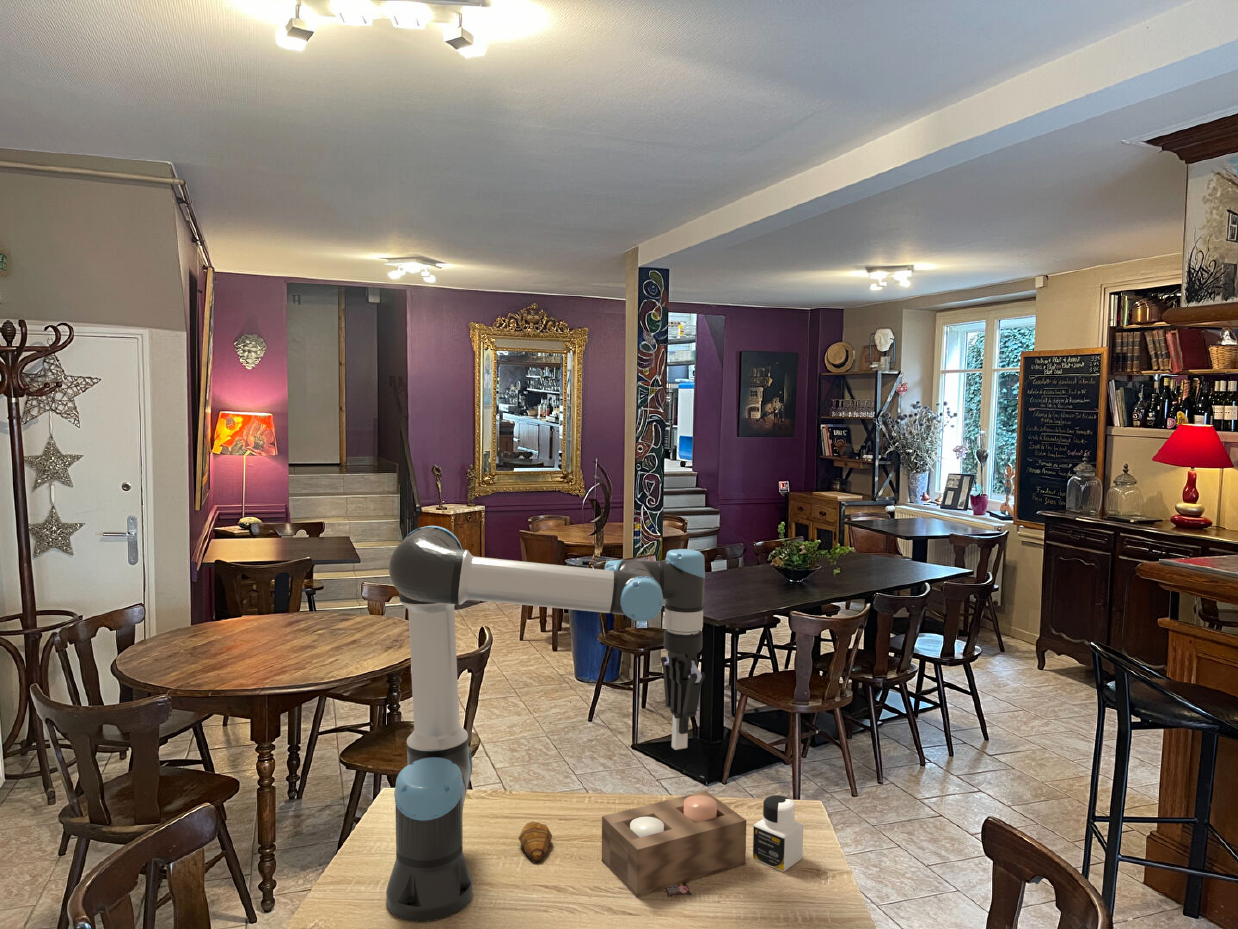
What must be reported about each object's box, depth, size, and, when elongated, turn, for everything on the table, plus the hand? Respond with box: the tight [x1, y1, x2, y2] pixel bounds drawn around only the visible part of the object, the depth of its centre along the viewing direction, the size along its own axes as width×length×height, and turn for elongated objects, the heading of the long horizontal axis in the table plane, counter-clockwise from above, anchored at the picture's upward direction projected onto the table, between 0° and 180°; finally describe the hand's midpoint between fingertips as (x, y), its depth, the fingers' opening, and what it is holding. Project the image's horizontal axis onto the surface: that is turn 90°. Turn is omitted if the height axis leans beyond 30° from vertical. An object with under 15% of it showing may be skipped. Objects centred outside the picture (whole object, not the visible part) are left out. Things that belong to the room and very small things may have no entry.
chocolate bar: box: [664, 882, 693, 898], centre depth 163 cm, size 11×5×1 cm, turn 10°
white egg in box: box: [630, 817, 664, 837], centre depth 166 cm, size 6×6×8 cm
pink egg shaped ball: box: [684, 795, 717, 823], centre depth 172 cm, size 6×6×8 cm
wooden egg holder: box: [601, 790, 747, 898], centre depth 169 cm, size 24×14×9 cm, turn 118°
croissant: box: [518, 821, 553, 863], centre depth 175 cm, size 14×7×5 cm, turn 10°
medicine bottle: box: [752, 794, 804, 873], centre depth 171 cm, size 7×7×12 cm
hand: (679, 747), depth 172 cm, fingers closed
